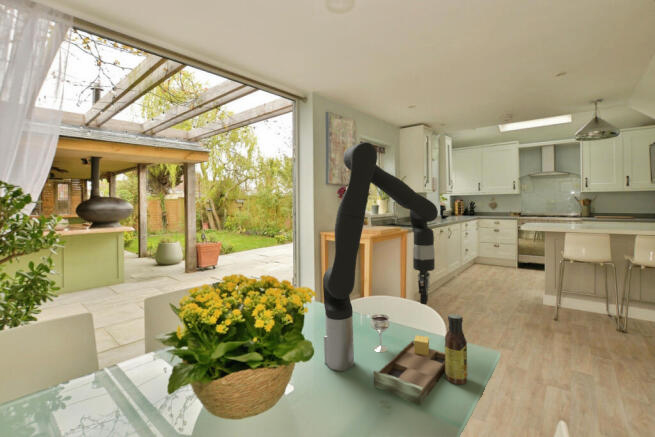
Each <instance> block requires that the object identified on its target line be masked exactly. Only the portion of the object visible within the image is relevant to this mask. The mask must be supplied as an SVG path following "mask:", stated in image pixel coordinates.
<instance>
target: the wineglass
mask: <svg viewBox="0 0 655 437" xmlns="http://www.w3.org/2000/svg"><path fill="white" fill-rule="evenodd" d="M370 318H371V321H370V325H371V328H372V329H374V330H375V332H378V334H379V345H375V346H374V347H373V349H374V351H375V352H378V353H386V352H387V351H388V348H387V347H386V346H385V345H382V333H383V332H385V331H386V330H388V329H389V327H390V321H389V319H390V316H388V315H387V314H380V313H377V314H373V315H371V317H370Z"/></svg>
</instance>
